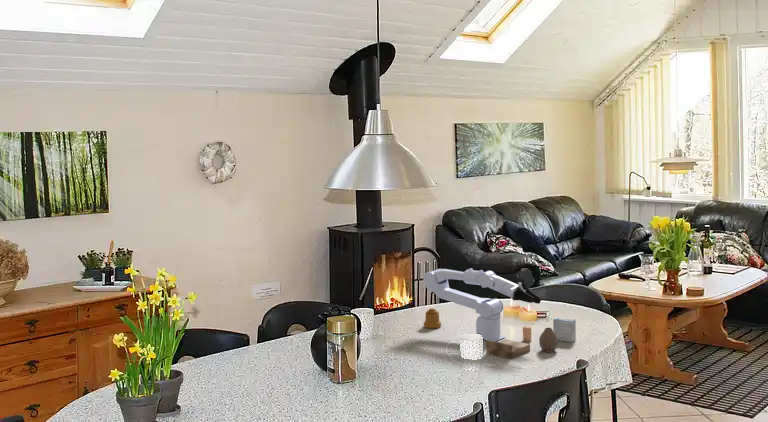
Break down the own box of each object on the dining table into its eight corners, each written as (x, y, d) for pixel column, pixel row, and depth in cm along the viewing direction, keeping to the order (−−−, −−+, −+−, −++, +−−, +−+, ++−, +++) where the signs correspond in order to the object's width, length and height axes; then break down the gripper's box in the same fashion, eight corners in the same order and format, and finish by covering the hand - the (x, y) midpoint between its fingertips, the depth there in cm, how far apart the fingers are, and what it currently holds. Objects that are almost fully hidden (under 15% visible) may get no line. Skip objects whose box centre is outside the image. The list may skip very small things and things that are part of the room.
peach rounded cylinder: (521, 341, 312) (521, 327, 312) (525, 339, 315) (525, 325, 314) (528, 342, 310) (528, 329, 309) (533, 340, 313) (533, 327, 312)
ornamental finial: (426, 324, 341) (443, 325, 339) (421, 328, 334) (438, 329, 332) (426, 306, 340) (443, 307, 338) (421, 310, 334) (437, 311, 331)
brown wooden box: (486, 353, 298) (486, 340, 297) (505, 345, 307) (505, 333, 306) (510, 358, 290) (510, 345, 289) (530, 350, 300) (529, 337, 299)
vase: (557, 353, 295) (557, 331, 294) (539, 353, 296) (539, 330, 295) (557, 348, 302) (557, 326, 301) (539, 347, 303) (539, 325, 302)
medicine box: (576, 339, 312) (576, 318, 311) (572, 342, 308) (572, 321, 307) (556, 337, 316) (556, 316, 315) (553, 340, 313) (552, 319, 312)
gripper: (502, 276, 304) (533, 290, 296) (517, 279, 316) (547, 292, 308) (496, 293, 304) (526, 307, 297) (511, 295, 316) (540, 308, 309)
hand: (536, 300), depth 303 cm, fingers open, 7 cm apart
